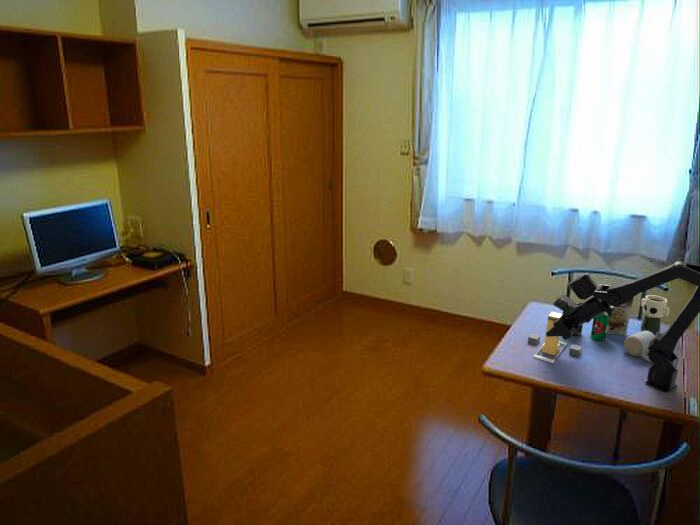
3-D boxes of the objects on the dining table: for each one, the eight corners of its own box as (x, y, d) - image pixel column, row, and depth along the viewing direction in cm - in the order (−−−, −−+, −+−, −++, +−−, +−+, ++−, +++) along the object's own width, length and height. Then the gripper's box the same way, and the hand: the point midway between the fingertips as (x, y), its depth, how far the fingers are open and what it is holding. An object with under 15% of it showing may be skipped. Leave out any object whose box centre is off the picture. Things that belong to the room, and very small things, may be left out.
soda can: (607, 344, 187) (612, 313, 184) (591, 343, 188) (596, 311, 185) (603, 338, 192) (609, 307, 188) (588, 337, 193) (593, 306, 189)
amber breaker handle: (558, 350, 180) (564, 314, 176) (555, 355, 177) (560, 318, 172) (545, 347, 182) (550, 311, 178) (541, 351, 179) (546, 315, 175)
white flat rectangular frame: (585, 353, 181) (587, 344, 180) (573, 372, 169) (575, 363, 168) (526, 337, 192) (527, 329, 191) (511, 354, 180) (512, 345, 179)
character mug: (630, 327, 202) (636, 294, 198) (643, 323, 205) (649, 292, 201) (656, 338, 192) (663, 305, 188) (669, 335, 195) (677, 302, 191)
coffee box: (599, 333, 196) (607, 292, 191) (596, 326, 202) (603, 286, 197) (626, 336, 194) (634, 294, 189) (622, 328, 200) (629, 288, 195)
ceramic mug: (620, 351, 183) (624, 331, 180) (636, 346, 186) (640, 326, 184) (648, 366, 174) (653, 344, 171) (665, 360, 177) (670, 340, 175)
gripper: (579, 281, 177) (541, 304, 187) (564, 298, 163) (524, 322, 172) (601, 309, 175) (562, 330, 185) (587, 328, 161) (545, 351, 170)
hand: (548, 332), depth 178 cm, fingers closed on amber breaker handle, 4 cm apart
